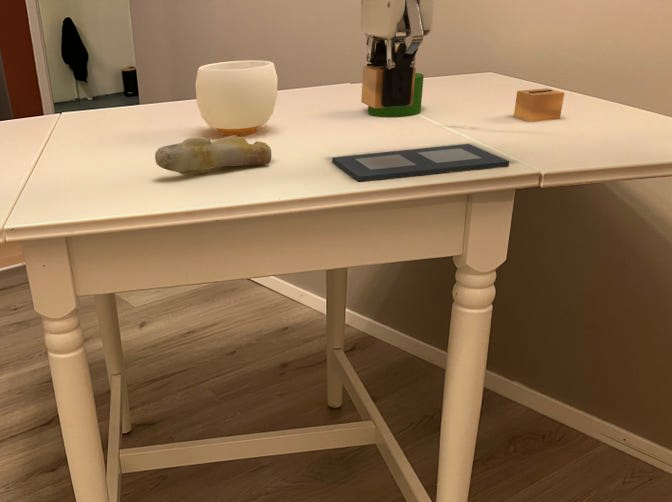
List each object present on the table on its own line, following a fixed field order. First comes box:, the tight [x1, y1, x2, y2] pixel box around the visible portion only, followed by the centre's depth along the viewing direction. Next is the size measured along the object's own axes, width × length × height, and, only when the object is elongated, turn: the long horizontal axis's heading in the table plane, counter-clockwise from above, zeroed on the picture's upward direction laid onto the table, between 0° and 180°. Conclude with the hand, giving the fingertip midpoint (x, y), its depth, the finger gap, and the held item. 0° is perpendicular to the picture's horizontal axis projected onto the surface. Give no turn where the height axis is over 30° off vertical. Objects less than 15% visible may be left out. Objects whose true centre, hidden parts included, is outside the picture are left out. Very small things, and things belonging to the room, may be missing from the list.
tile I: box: [513, 87, 565, 123], centre depth 101 cm, size 4×4×4 cm
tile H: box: [360, 64, 417, 108], centre depth 81 cm, size 4×4×4 cm
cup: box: [195, 59, 278, 137], centre depth 107 cm, size 12×12×10 cm
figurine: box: [154, 135, 272, 176], centre depth 88 cm, size 5×5×15 cm
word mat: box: [331, 143, 510, 183], centre depth 85 cm, size 18×10×1 cm, turn 97°
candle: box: [367, 44, 425, 118], centre depth 113 cm, size 8×8×10 cm
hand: (387, 100), depth 82 cm, fingers closed on tile H, 4 cm apart
